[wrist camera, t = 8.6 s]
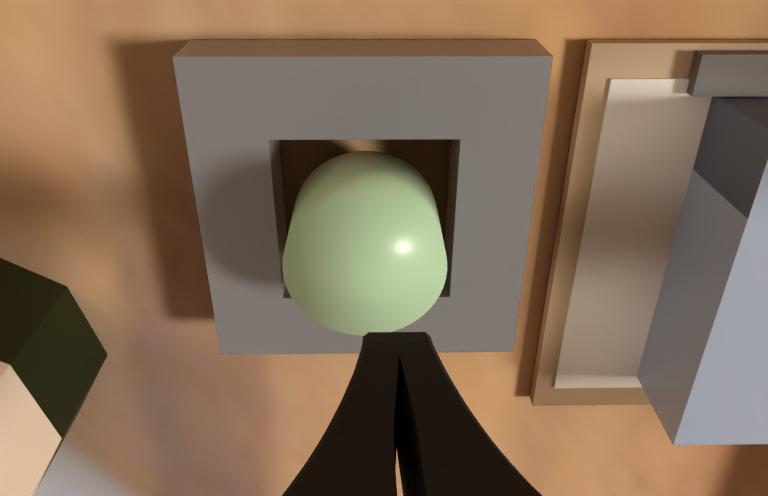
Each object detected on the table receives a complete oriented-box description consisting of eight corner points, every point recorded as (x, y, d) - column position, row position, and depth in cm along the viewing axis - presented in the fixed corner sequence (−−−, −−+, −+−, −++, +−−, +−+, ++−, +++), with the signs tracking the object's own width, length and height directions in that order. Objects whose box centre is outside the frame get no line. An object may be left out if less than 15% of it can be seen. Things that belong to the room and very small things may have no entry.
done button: (433, 277, 21) (443, 334, 18) (298, 278, 21) (288, 336, 18) (440, 150, 19) (451, 195, 16) (289, 151, 18) (275, 196, 16)
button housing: (502, 317, 24) (512, 351, 22) (231, 319, 23) (220, 354, 22) (535, 39, 19) (553, 56, 17) (190, 39, 18) (172, 56, 17)
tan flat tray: (799, 394, 26) (814, 411, 25) (529, 396, 26) (535, 414, 25) (957, 39, 19) (985, 47, 18) (587, 39, 19) (597, 47, 18)
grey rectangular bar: (724, 375, 24) (772, 444, 22) (636, 376, 24) (673, 445, 21) (826, 93, 19) (909, 134, 16) (712, 94, 19) (776, 134, 16)
